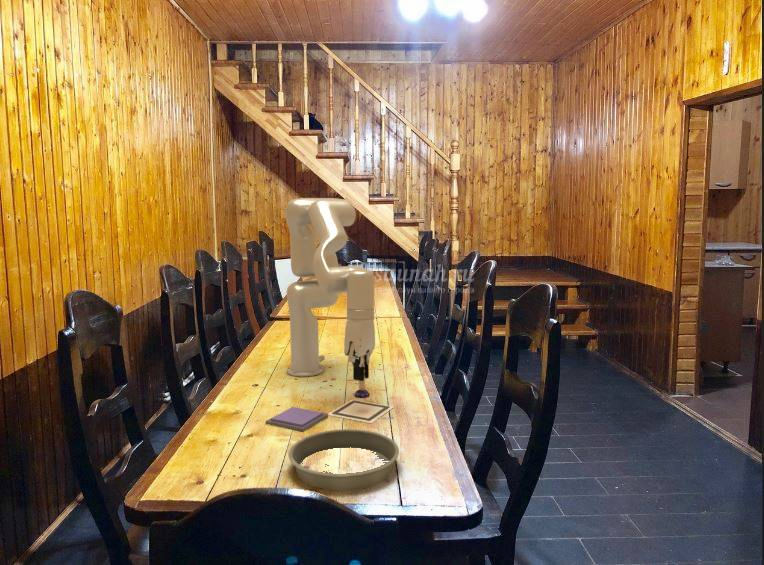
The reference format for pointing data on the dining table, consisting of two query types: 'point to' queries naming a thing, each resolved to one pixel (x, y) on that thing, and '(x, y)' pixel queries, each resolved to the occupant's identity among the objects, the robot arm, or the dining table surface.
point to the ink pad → (297, 419)
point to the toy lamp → (362, 386)
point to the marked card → (361, 411)
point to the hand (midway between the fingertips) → (361, 378)
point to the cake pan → (344, 440)
